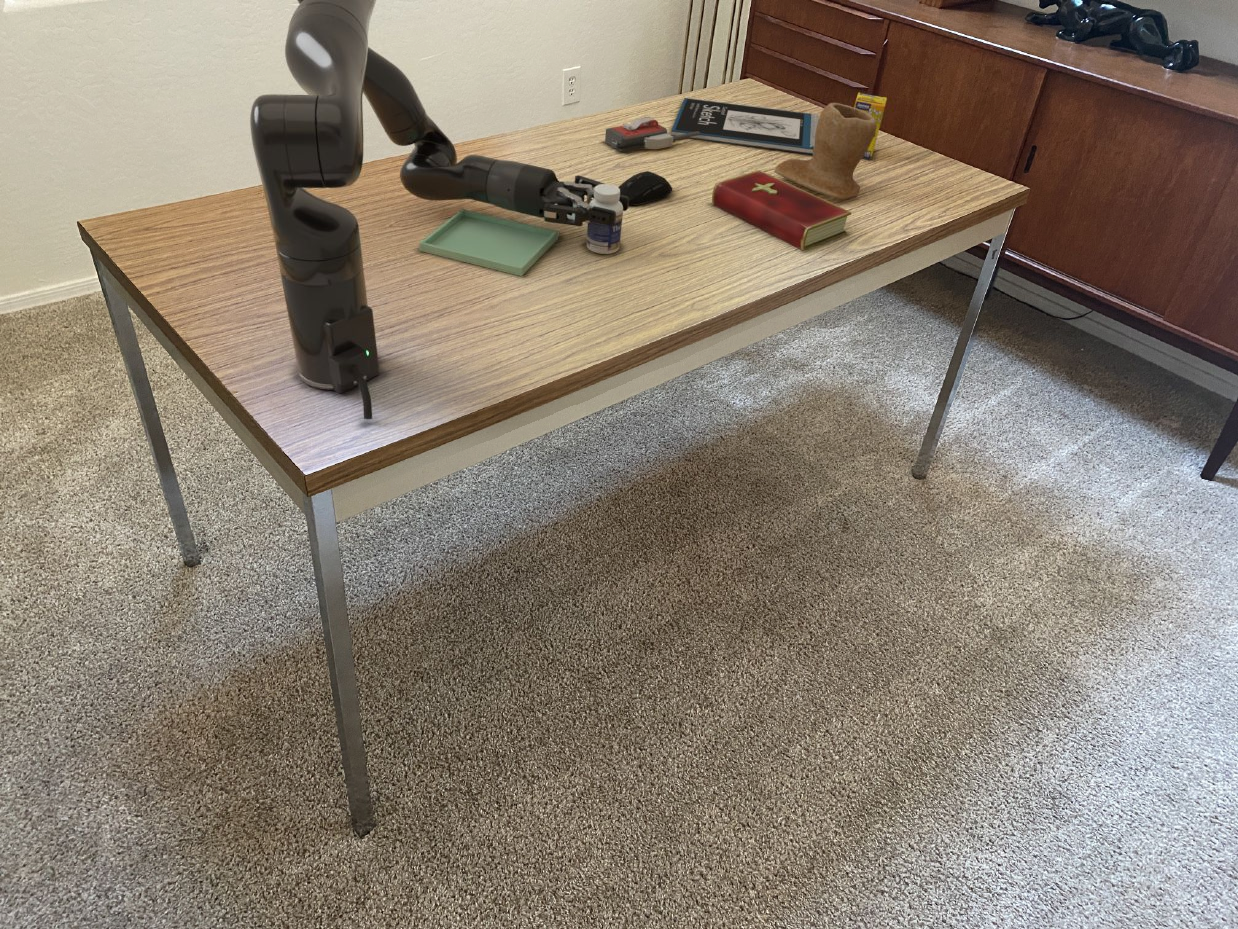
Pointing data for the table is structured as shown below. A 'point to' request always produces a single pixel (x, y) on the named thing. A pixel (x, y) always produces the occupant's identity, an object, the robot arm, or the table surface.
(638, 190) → the gaming mouse
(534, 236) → the tray
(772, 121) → the sketchbook
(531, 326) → the table surface
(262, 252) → the table surface
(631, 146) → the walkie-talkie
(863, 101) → the supplement box
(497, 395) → the table surface
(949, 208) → the table surface
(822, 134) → the brown boot
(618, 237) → the pill bottle
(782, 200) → the hardcover book
